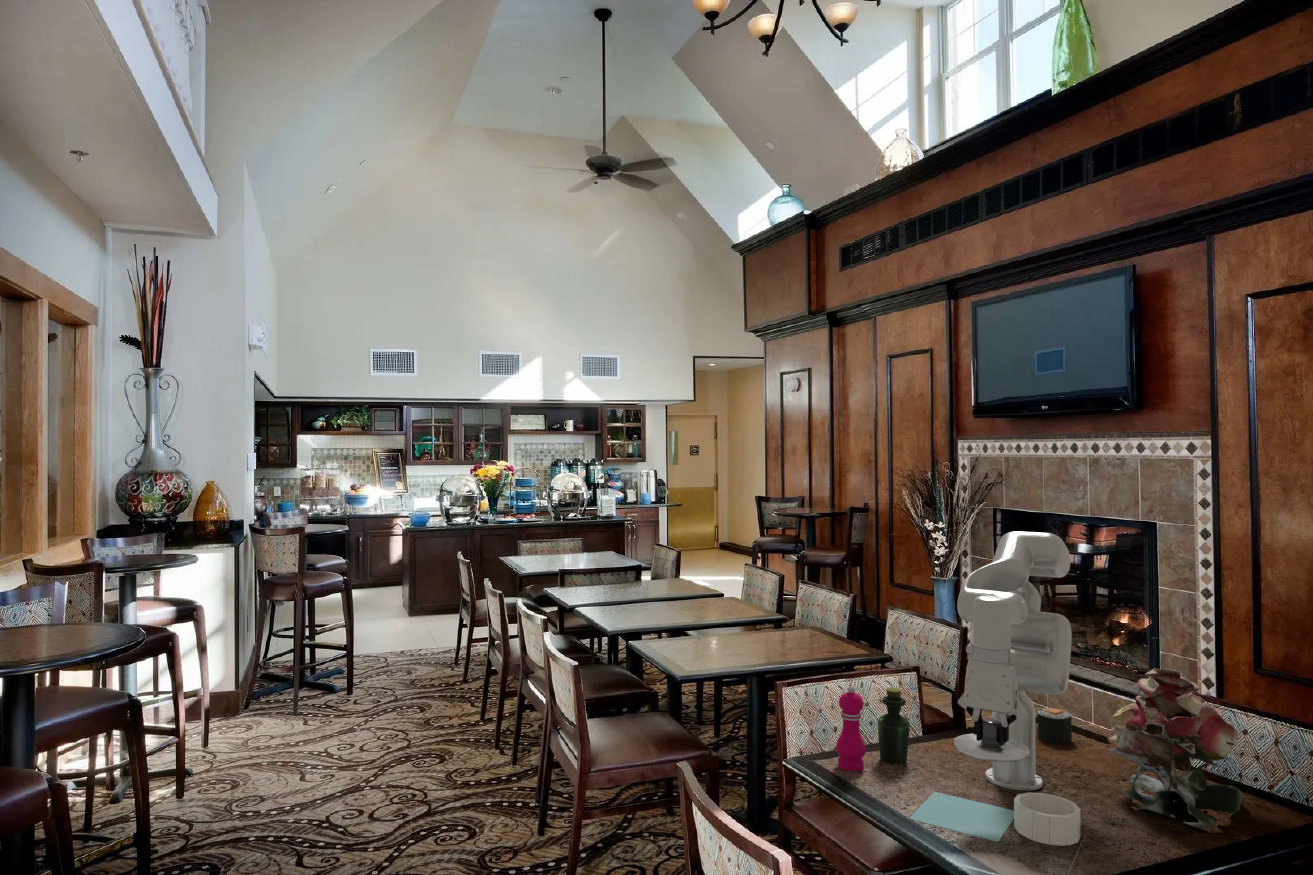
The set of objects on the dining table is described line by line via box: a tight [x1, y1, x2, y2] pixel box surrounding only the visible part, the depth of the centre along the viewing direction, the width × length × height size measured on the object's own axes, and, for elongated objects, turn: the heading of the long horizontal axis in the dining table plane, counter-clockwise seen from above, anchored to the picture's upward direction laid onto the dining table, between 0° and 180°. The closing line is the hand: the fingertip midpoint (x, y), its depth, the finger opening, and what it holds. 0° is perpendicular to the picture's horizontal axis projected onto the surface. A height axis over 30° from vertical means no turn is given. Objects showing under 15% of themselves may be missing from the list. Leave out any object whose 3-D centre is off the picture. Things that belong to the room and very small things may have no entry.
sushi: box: [1036, 707, 1073, 745], centre depth 231 cm, size 8×8×8 cm
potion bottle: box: [876, 687, 911, 766], centre depth 213 cm, size 8×8×18 cm
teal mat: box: [908, 791, 1014, 843], centre depth 179 cm, size 18×18×1 cm
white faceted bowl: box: [1013, 791, 1081, 847], centre depth 171 cm, size 12×12×6 cm
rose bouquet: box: [1105, 667, 1243, 831], centre depth 190 cm, size 26×29×30 cm
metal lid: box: [953, 718, 1030, 762], centre depth 177 cm, size 15×15×6 cm
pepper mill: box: [835, 685, 867, 772], centre depth 208 cm, size 7×7×20 cm
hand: (991, 740), depth 177 cm, fingers closed on metal lid, 4 cm apart
